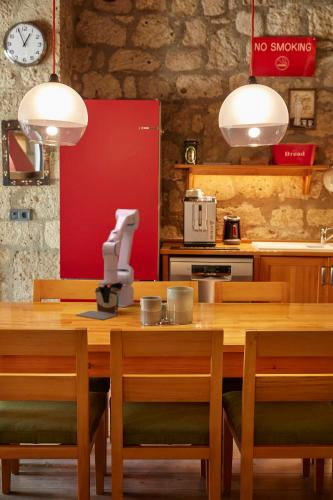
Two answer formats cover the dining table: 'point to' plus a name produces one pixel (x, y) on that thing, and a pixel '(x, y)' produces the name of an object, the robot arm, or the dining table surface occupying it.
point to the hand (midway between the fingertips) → (110, 301)
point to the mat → (97, 315)
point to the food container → (111, 305)
